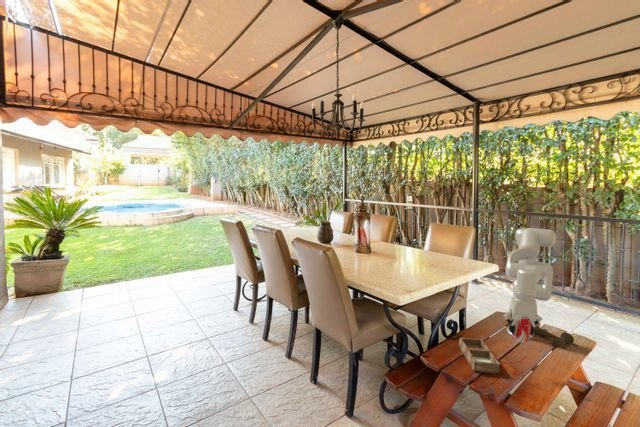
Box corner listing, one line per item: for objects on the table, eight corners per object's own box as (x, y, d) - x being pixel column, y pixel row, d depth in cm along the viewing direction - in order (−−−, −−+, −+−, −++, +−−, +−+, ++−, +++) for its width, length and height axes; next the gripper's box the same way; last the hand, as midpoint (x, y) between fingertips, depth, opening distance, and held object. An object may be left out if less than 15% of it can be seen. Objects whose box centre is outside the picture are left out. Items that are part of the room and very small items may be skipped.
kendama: (539, 332, 177) (581, 348, 160) (530, 336, 172) (573, 354, 155) (539, 322, 176) (582, 337, 159) (530, 326, 172) (574, 343, 154)
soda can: (507, 335, 143) (510, 311, 142) (521, 335, 144) (524, 311, 142) (518, 344, 136) (520, 319, 135) (533, 343, 137) (536, 318, 135)
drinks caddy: (458, 345, 160) (459, 337, 160) (481, 347, 159) (481, 339, 158) (473, 371, 139) (474, 362, 139) (499, 373, 138) (500, 364, 138)
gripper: (540, 294, 140) (536, 330, 142) (500, 291, 142) (496, 327, 144) (551, 301, 132) (546, 339, 135) (508, 298, 134) (504, 336, 137)
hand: (520, 333), depth 140 cm, fingers closed on soda can, 7 cm apart
